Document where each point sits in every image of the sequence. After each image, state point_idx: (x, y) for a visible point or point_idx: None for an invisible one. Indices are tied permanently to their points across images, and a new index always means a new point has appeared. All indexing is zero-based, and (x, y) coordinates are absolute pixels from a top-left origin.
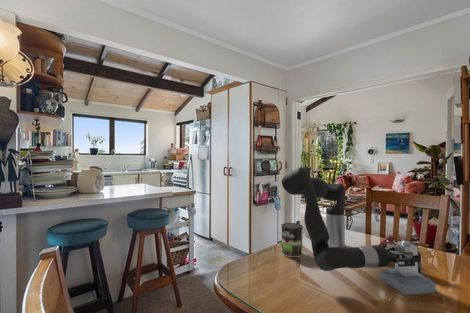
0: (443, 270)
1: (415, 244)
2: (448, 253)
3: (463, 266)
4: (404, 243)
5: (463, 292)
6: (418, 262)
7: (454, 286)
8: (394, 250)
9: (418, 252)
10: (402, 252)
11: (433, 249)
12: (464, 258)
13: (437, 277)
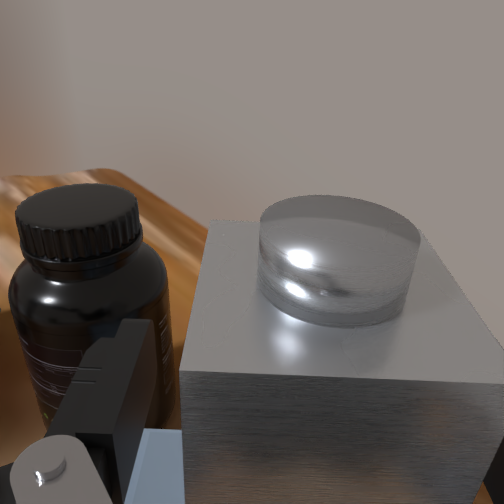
0: None
1: (116, 194)
2: (63, 175)
3: (165, 206)
4: (390, 282)
5: None
6: (169, 326)
7: None
8: (123, 459)
9: (150, 251)
10: (406, 479)
11: (5, 180)
12: (120, 173)
13: None
